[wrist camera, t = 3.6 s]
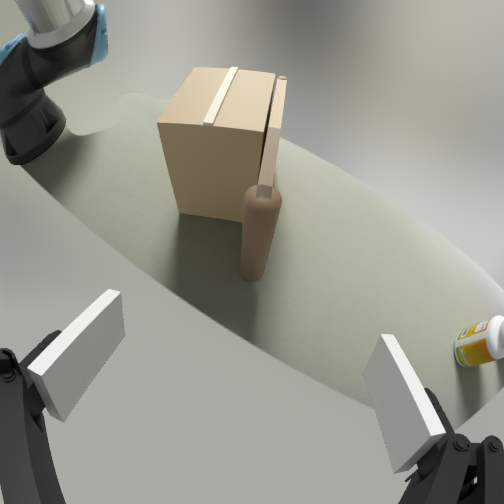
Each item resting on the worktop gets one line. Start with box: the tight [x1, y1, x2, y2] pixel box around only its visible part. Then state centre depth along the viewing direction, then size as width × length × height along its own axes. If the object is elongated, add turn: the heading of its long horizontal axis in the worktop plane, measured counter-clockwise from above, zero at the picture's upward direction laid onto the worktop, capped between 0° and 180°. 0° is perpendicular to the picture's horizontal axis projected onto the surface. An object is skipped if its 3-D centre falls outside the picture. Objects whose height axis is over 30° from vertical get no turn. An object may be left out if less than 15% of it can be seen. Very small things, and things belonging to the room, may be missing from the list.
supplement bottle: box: [454, 316, 504, 367], centre depth 23 cm, size 5×5×10 cm
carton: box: [157, 67, 275, 223], centre depth 29 cm, size 11×9×14 cm
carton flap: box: [240, 76, 287, 282], centre depth 27 cm, size 19×2×14 cm, turn 172°
